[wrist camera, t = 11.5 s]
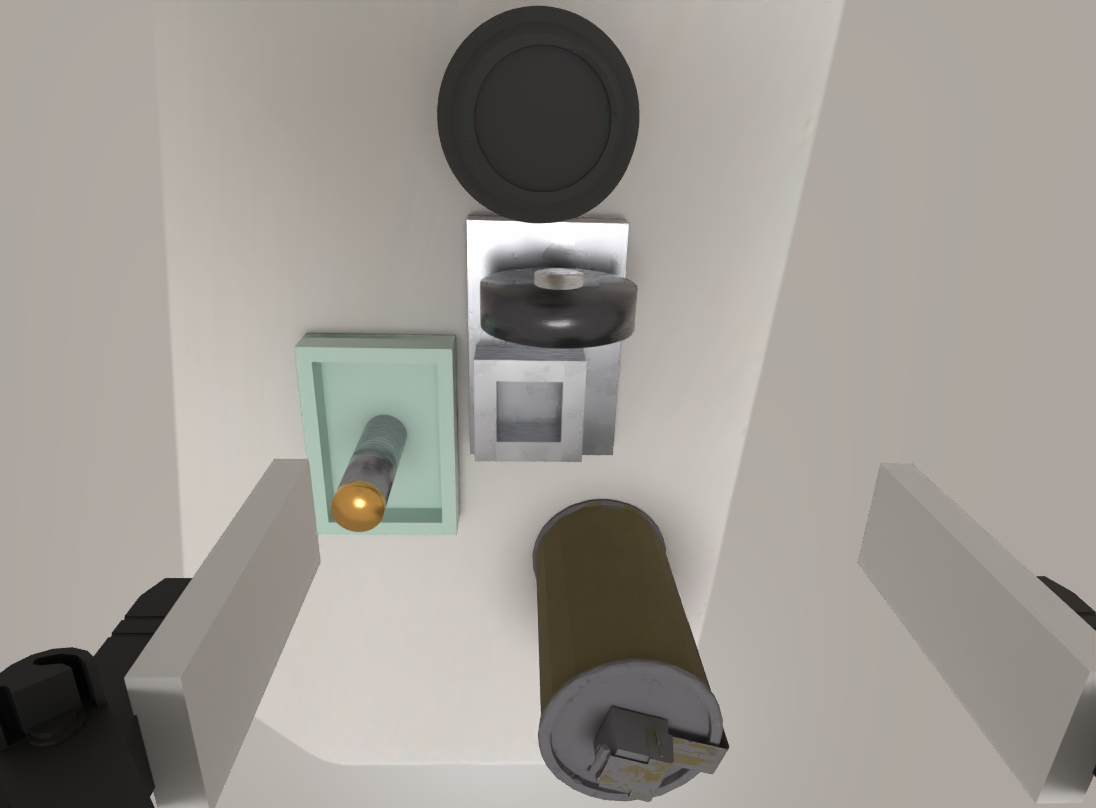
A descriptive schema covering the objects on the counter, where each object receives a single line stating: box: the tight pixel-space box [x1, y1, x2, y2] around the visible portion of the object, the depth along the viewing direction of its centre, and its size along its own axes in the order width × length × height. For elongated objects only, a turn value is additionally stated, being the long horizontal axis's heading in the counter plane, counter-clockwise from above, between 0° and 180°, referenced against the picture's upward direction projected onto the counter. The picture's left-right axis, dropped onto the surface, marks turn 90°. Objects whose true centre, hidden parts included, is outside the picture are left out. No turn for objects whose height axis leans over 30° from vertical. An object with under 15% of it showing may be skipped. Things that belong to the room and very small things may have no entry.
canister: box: [533, 500, 729, 802], centre depth 47 cm, size 11×10×20 cm
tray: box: [294, 333, 460, 535], centre depth 50 cm, size 14×10×3 cm
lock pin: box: [331, 415, 407, 532], centre depth 46 cm, size 3×3×10 cm
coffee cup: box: [437, 6, 639, 223], centre depth 37 cm, size 9×9×15 cm
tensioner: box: [467, 216, 637, 462], centre depth 44 cm, size 16×10×11 cm, turn 178°
